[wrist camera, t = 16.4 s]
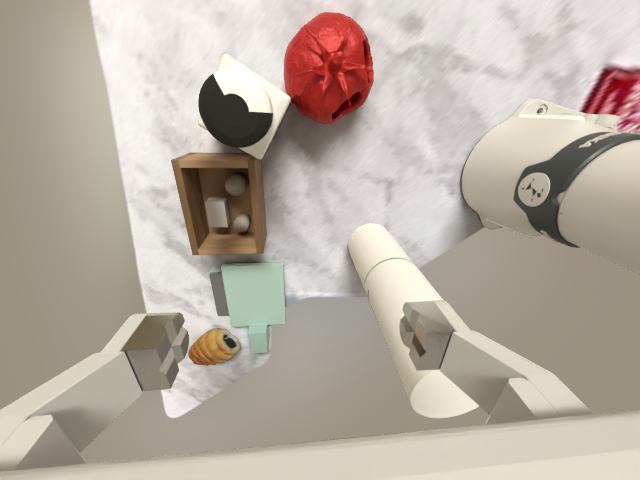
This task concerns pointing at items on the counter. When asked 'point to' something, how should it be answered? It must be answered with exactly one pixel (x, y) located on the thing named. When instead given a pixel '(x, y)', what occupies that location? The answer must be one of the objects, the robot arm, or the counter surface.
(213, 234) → the wooden box
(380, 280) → the cylindrical container
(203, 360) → the pastry
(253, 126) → the medicine bottle
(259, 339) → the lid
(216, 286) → the mat
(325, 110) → the pomegranate
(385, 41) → the counter surface
